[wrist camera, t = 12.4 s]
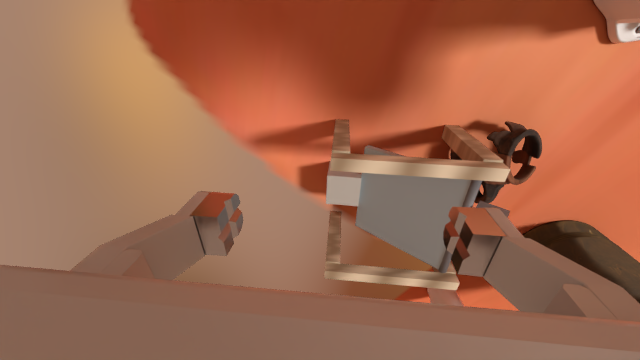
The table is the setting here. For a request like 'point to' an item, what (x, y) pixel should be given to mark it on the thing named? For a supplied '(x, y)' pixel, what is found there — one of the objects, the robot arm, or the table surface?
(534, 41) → the table surface
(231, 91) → the table surface
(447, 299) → the tall white cup
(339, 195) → the block
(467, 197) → the trapdoor
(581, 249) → the wooden container
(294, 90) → the table surface
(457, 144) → the frame
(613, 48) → the table surface
